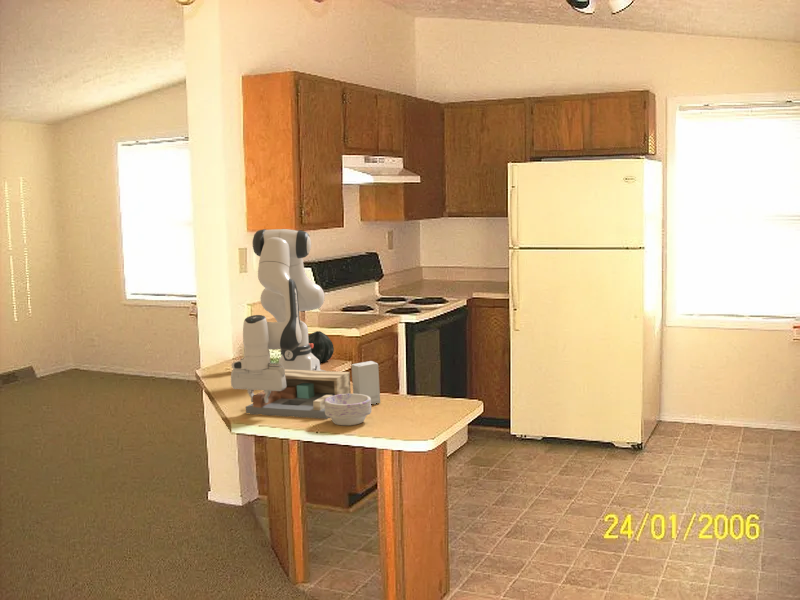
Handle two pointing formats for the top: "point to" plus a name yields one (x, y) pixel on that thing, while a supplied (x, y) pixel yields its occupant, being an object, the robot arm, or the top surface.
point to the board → (291, 407)
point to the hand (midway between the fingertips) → (259, 402)
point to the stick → (320, 402)
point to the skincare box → (366, 380)
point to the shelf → (320, 380)
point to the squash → (321, 346)
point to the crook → (274, 396)
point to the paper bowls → (348, 408)
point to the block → (305, 390)
